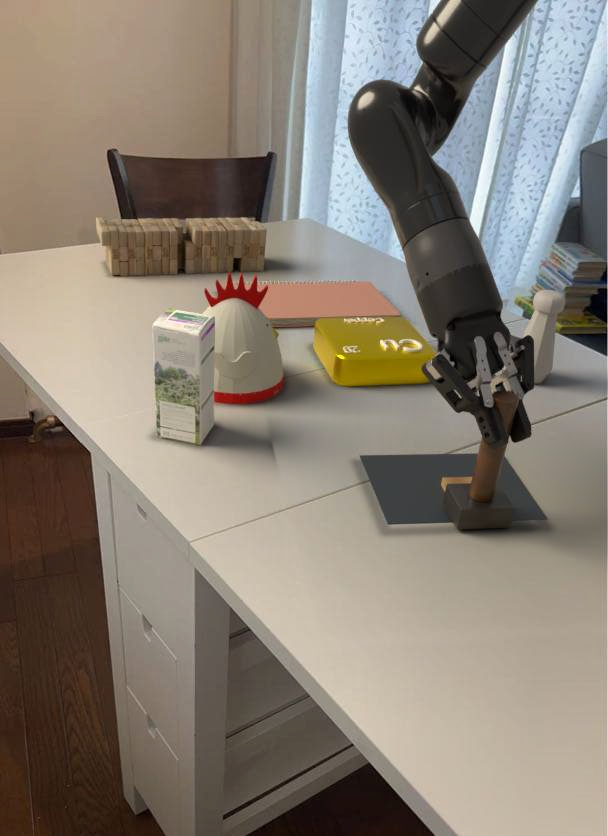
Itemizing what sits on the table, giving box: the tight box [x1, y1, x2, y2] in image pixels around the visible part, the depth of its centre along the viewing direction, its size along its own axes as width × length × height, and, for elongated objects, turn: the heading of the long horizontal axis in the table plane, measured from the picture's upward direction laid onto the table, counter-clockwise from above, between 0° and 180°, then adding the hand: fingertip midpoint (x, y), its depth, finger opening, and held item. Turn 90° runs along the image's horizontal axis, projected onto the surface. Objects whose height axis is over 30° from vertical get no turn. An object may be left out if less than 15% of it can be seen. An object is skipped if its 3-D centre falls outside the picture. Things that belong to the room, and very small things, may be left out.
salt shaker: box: [521, 289, 566, 385], centre depth 115 cm, size 6×6×13 cm
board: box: [359, 452, 548, 525], centre depth 91 cm, size 18×14×1 cm
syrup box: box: [151, 308, 215, 446], centre depth 94 cm, size 6×6×14 cm
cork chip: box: [441, 477, 472, 491], centre depth 89 cm, size 4×4×1 cm
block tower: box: [95, 217, 268, 277], centre depth 144 cm, size 8×8×29 cm
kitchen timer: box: [202, 271, 285, 405], centre depth 106 cm, size 14×14×15 cm
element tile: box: [312, 316, 437, 387], centre depth 117 cm, size 15×15×5 cm
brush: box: [443, 390, 519, 530], centre depth 81 cm, size 6×5×14 cm
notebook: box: [220, 279, 402, 328], centre depth 134 cm, size 27×17×2 cm, turn 105°
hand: (511, 442), depth 78 cm, fingers closed on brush, 2 cm apart
